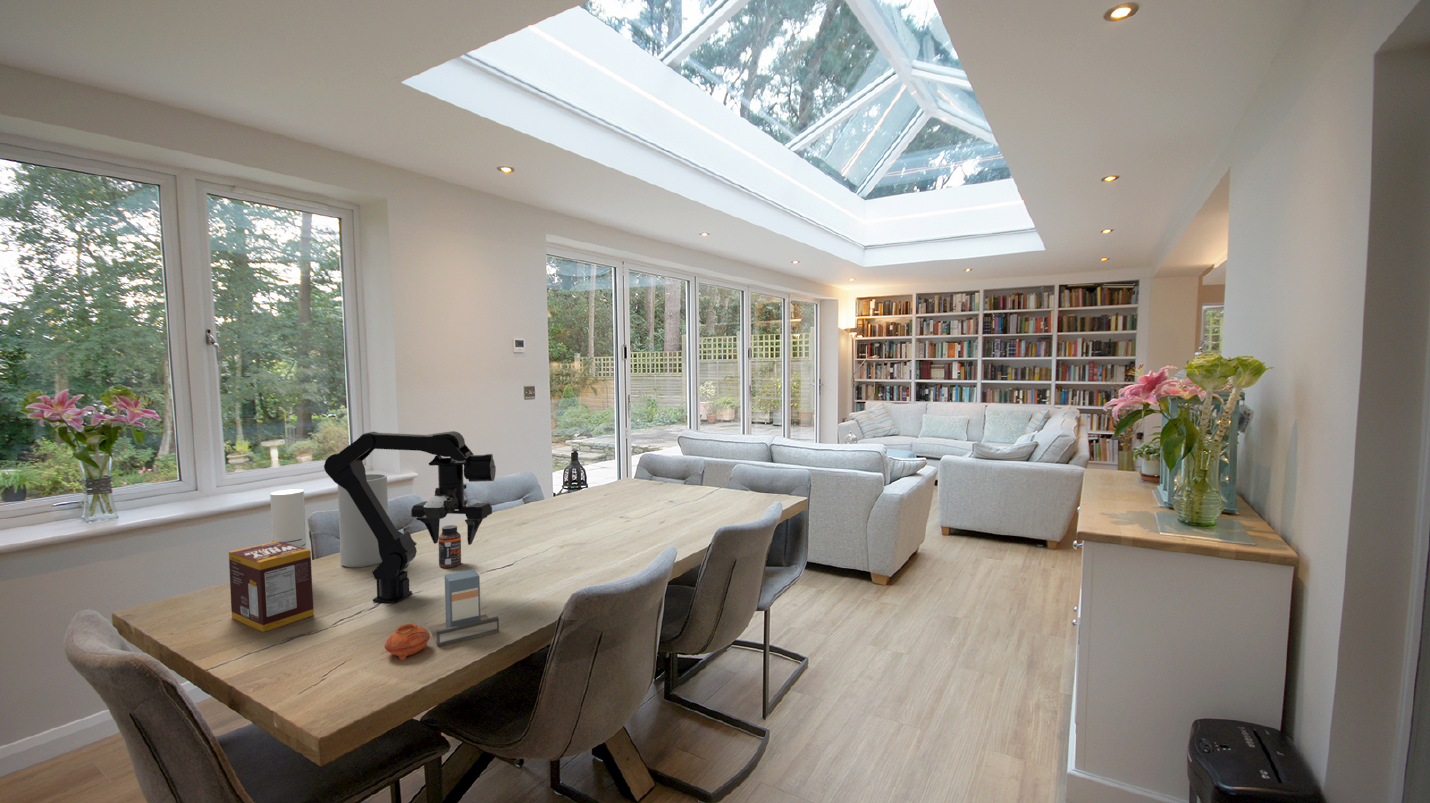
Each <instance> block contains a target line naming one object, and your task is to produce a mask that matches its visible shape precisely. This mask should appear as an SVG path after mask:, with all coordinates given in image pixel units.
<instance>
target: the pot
mask: <svg viewBox="0 0 1430 803" xmlns="http://www.w3.org/2000/svg"><path fill="white" fill-rule="evenodd" d="M430 638H431V635H430V633H429V631H427V630H426V628H424V627H421V626H419V625H417V624H415V623H406V624H404V625H401V626H399V627H397V629H395V631H394V632H393V633H392V634H391V635H390V636H389V637H388V638H387V639H386V640H385V643H384V649H385V650H386V651H387V652H388V653H389V654H391V655H393V656H395V657H396V656H397V657H398V658H399V661H404V660H406V658H407V657H409V656H412V655H415V654H416V653H419V651H421V650H425V649H427V648H428V642H429V641H430Z"/></svg>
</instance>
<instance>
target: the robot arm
mask: <svg viewBox="0 0 1430 803" xmlns="http://www.w3.org/2000/svg"><path fill="white" fill-rule="evenodd" d="M375 450H394V451H419V452H424V453H428V454H430V455H435V456H434V457H433V458H432V460H431V461H430V462H429V463H428V466H437V474H438V475H437V476H438V487H435V490H434V495H433V497H431V498H430V499H428V501H424V500H423V501H422V502H419V503H417V504H413V506H411V509H410V512H411V513H410V514H411V518H415V519H416V521H420V522H421V523H423V525H425V527H426V529H427V531H428V533H429V535H430V538H431V540H432V542H433V544H435V545H436V544H437V543H438V544H439V536H440V522H441V521H440V520H441V519H444V518H446V516H447V515H449V514H452V515H453V514H454V515H455V514H456V515H465V517H466V518H467V519H464V522H465V523H466V526H467V536H466V537H467V544H468V546H470V545H472V544H473V541H474V539H475V537H476V534H477V532H478V529H479V527H480V525H481V524H482V522H483V520H484V519H487V517H488V516H490V515H492V514H493V507H492V506H491V504H490V503H489V502H476V503H472V504H470V505H468V500H467V499H465V489H467V484H466V483H464V478H465V479H466V480H467V481H468V482H470V483H475V482H476V483H477V482H494V481H495V478H496V474H497V473H496V465H495V460H494V456H493V454H492V453H486V454H474V453H473V451H471V449H470V448H469V447H468V446H467V444H466V442H465V438H464V436H463V435H462V434H461V433H460V432H458V431H456V430H455V431H444V432H437V433H436V432H435V433H431V434H429V433H428V434H411V433H410V434H409V433H389V432H387V433H386V432H378V431H369V432H365V433H362V434H361V435H360V436H359V437H358V438H357V439H355V441H354V442H352V443H350V444H349V445H347V446H346V447H345V448H343V449H342V450H341V451H339V452H337V453H334V454H331V455H329V456H328V457H327V458H326V460H325V462H324V464H323V468H324V469H323V470H324V471H325V473H326V475H327V476H328V477H330V479H331V480H332V481H333V483H335V484H336V485H337V486H338V485H339V486H341V487H342V488H344V489H345V490H346V491H347V492H348V493H349V495H350V497H351V498H352V500H353V501H354V503H355V505H356V506H357V508H358V510H359V511H360V513H361V514H362V516H363V518H364V519H365V521H366V522H367V524H368V526H369V527H370V529H371V531H372V532H373V534H374V535H375V537H376V539H377V541H378V549H379V554H380V557H381V560H382V562H381V563H379V564H377V566H376V567H375V568H374V569H373V570H372V571H371V572H372V573H371V574H372V576H373V577H374V580H376V597H374V598H373V599H372V602H373V603H375V602H377V603H378V602H379V603H380V602H381V603H398V602H400V601H402V600H404V599H405V598H407V597H409V596H410V595H412V594H413V591H412V590H410V578H409V576H408V571H407V570H406V571H405V569H407V568H408V567H409V565H410V563H411V562H412V561H413V560H414V559H415V558H416V555H417V553H418V551H417V547H416V545H417V542H416V541H414V539H413V538H412V536H411V533H410V531H409V530H406V532H405V533H403V532H401V531H399V530H398V529H397V528H396V526H395V525H394V523H393V522H392V520H391V519H390V517H389V514H388V515H387V513H386V512H385V510H384V509H383V507H382V505H381V504H380V502H379V500H378V499H377V497H376V496H375V494H374V492H373V491H372V489H371V487H370V486H369V484H368V483H367V480H366V474H367V472H366V467H365V465H364V462H363V461H364V460H365V459H366V458H368V457H369V456H370V455H371V454H372V452H373V451H375ZM466 505H468V506H466Z"/></svg>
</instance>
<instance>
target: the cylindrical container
mask: <svg viewBox="0 0 1430 803" xmlns="http://www.w3.org/2000/svg"><path fill="white" fill-rule="evenodd" d="M269 499H270V518H271V536H272V537H271V538H272V539H271V540H272V541H271V542H275V541H281V542H284V543H287V544H291V545H294V546H298V547H301V548H305V549H307V534H306V531H307V530H306V508H305V505H306V504H305V490H304V489H303V488H302V489H301V488H300V489H299V488H297V489H296V488H295V489H293V488H291V489H283V490H276V491H272V492H270V498H269Z"/></svg>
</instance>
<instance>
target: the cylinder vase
mask: <svg viewBox="0 0 1430 803" xmlns="http://www.w3.org/2000/svg"><path fill="white" fill-rule="evenodd" d="M366 480H367V483H368V484H369V486H370V487H371V489H372V491H373V492H374V494H375V496H376V497H377V499H378V500H379V502H380V504H381V505H382V507H383V509H384V510H385V512H386V513H387V515H388V516H389V506H388V505H389V500H388V475H386V474H381V473H366ZM337 498H338V499H337V500H338V502H337V504H338V525H339V526H338V528H339V552H340V553H339V554H340V564H341V565H342V566H343V567H346V568H364V567H365V568H366V567H370V566H375V565H379V564H380V563H381V562H382V560H381V557H380V554H379V549H378V541H377V539H376V537H375V535H374V534H373V532H372V531H371V529H370V527H369V526H368V524H367V522H366V521H365V519H364V518H363V516H362V514H361V513H360V511H359V510H358V508H357V506H356V505H355V503H354V501H353V500H352V498H351V497H350V495H349V493H348V492H347V491H346V490H345V489H344V488H342V487H341V486H339V485H338V484H337Z"/></svg>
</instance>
